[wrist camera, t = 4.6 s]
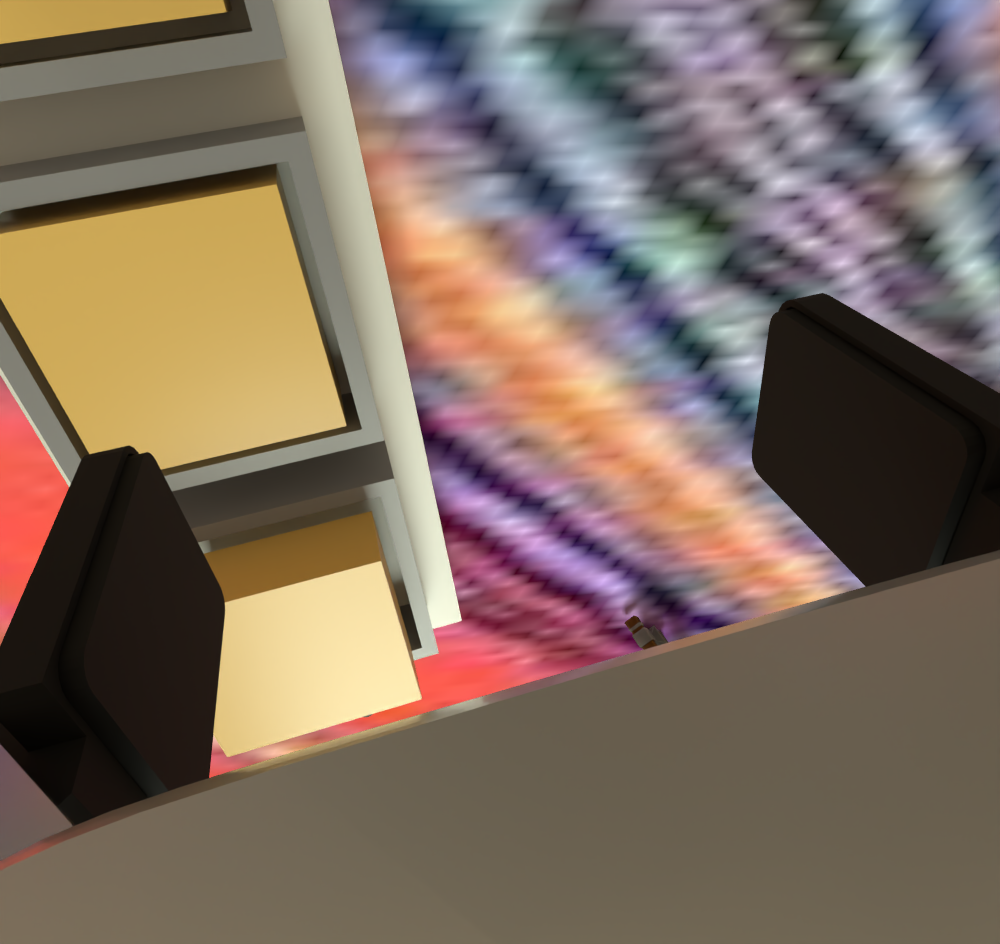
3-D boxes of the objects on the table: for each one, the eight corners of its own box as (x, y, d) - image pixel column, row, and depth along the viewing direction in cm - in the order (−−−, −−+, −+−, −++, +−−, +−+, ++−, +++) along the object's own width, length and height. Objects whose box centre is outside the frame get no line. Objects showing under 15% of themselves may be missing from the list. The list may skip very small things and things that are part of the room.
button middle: (276, 163, 16) (276, 184, 14) (340, 387, 20) (346, 425, 18) (2, 211, 15) (-34, 240, 13) (121, 436, 19) (105, 482, 17)
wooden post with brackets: (638, 605, 32) (699, 689, 30) (676, 621, 39) (727, 691, 37) (609, 628, 33) (666, 712, 30) (651, 640, 40) (700, 710, 37)
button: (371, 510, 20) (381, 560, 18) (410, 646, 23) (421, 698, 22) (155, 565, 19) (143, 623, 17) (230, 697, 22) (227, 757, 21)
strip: (202, -538, 12) (166, -806, 8) (469, 673, 33) (496, 769, 29) (-441, -523, 11) (-875, -838, 7) (259, 735, 32) (257, 846, 27)
